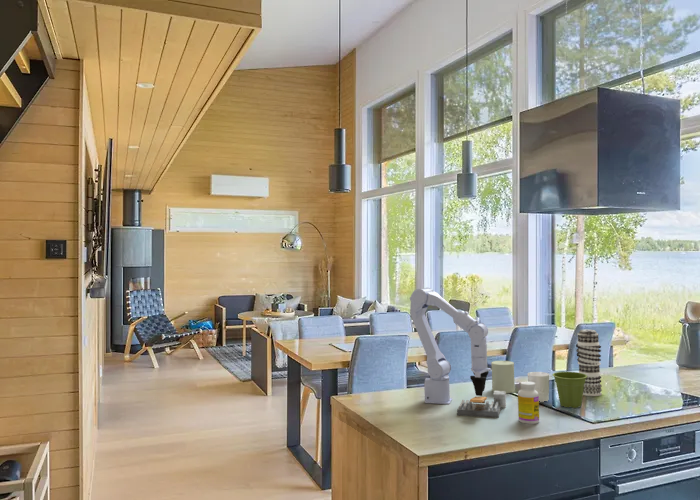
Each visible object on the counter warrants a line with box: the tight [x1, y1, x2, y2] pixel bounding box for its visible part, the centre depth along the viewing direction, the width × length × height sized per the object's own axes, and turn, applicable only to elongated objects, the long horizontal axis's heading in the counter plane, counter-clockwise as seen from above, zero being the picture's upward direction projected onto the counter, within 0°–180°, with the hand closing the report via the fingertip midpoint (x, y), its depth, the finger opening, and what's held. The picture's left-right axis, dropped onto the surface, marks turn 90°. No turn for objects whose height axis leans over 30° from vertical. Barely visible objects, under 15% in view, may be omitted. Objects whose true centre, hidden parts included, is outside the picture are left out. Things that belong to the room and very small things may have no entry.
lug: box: [492, 391, 507, 409], centre depth 207 cm, size 4×5×5 cm
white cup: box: [527, 371, 550, 403], centre depth 216 cm, size 8×8×10 cm
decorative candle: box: [575, 328, 603, 397], centre depth 224 cm, size 9×9×25 cm
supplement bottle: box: [517, 381, 540, 425], centre depth 189 cm, size 7×7×13 cm
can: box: [490, 360, 516, 394], centre depth 233 cm, size 9×9×12 cm
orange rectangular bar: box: [469, 396, 488, 404], centre depth 201 cm, size 4×16×2 cm, turn 161°
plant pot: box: [552, 371, 587, 409], centre depth 207 cm, size 12×12×11 cm
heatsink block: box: [456, 399, 502, 419], centre depth 201 cm, size 14×10×4 cm
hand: (480, 393), depth 210 cm, fingers open, 7 cm apart
